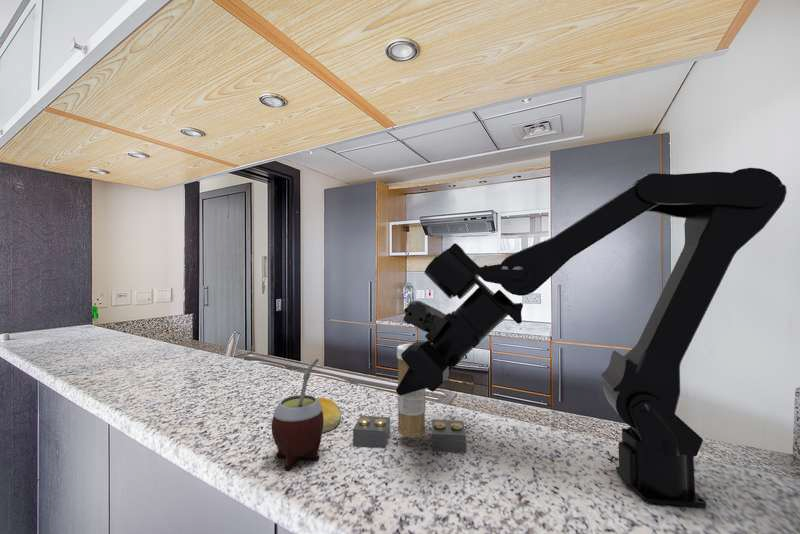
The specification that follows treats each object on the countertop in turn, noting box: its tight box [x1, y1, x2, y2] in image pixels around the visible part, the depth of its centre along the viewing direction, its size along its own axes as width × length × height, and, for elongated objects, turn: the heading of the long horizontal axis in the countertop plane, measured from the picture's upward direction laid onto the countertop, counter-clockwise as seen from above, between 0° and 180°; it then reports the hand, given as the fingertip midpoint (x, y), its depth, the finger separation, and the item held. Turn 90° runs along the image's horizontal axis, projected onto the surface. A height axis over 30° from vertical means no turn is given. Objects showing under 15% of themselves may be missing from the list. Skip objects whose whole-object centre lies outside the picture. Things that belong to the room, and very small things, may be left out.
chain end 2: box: [431, 418, 467, 454], centre depth 50 cm, size 5×5×3 cm
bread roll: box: [315, 397, 342, 434], centre depth 57 cm, size 8×9×4 cm
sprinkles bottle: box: [396, 343, 427, 438], centre depth 51 cm, size 5×5×13 cm
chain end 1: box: [352, 415, 391, 449], centre depth 51 cm, size 5×5×3 cm
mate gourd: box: [271, 358, 324, 472], centre depth 46 cm, size 8×8×15 cm
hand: (403, 388), depth 51 cm, fingers closed on sprinkles bottle, 4 cm apart
